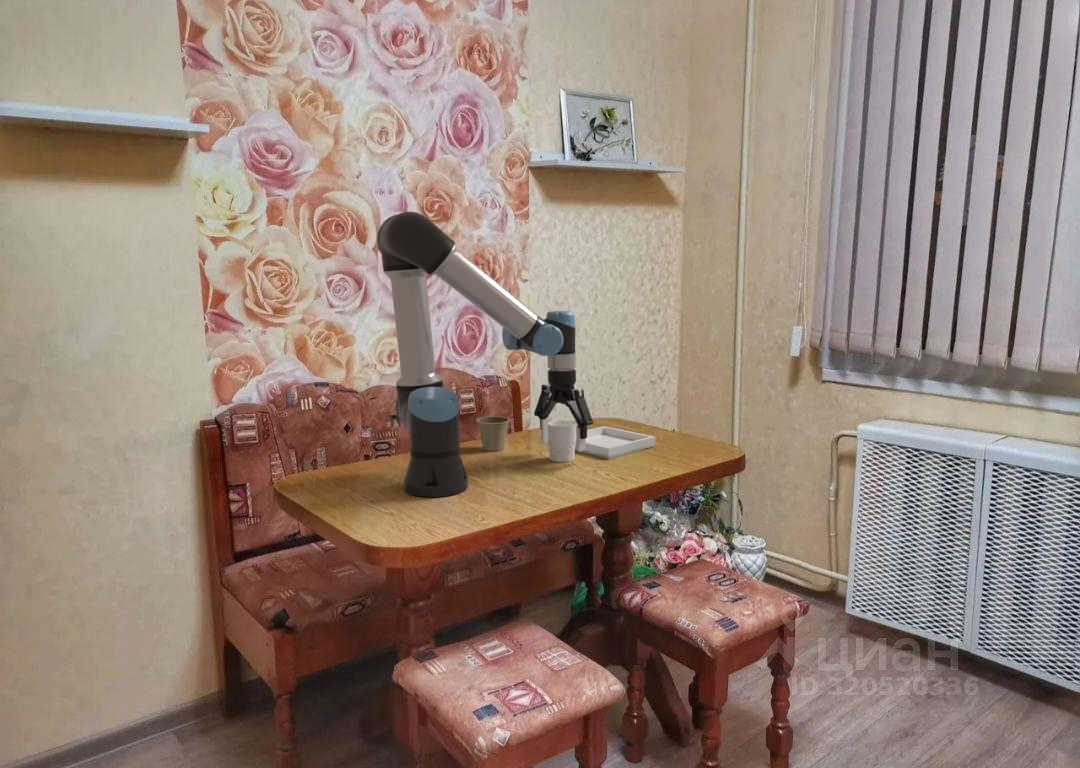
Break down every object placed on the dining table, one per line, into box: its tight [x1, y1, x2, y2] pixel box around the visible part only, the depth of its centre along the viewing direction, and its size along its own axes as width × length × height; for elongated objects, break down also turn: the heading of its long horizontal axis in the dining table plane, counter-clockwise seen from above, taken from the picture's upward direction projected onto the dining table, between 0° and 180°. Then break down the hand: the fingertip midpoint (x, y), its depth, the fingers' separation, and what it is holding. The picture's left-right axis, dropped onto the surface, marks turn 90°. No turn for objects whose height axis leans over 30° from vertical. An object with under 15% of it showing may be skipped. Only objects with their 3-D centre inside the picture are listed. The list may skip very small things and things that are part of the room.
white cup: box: [547, 420, 577, 463], centre depth 202 cm, size 8×8×10 cm
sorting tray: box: [575, 425, 656, 460], centre depth 216 cm, size 20×20×3 cm
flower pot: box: [476, 415, 511, 452], centre depth 214 cm, size 9×9×9 cm
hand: (563, 446), depth 203 cm, fingers open, 13 cm apart
